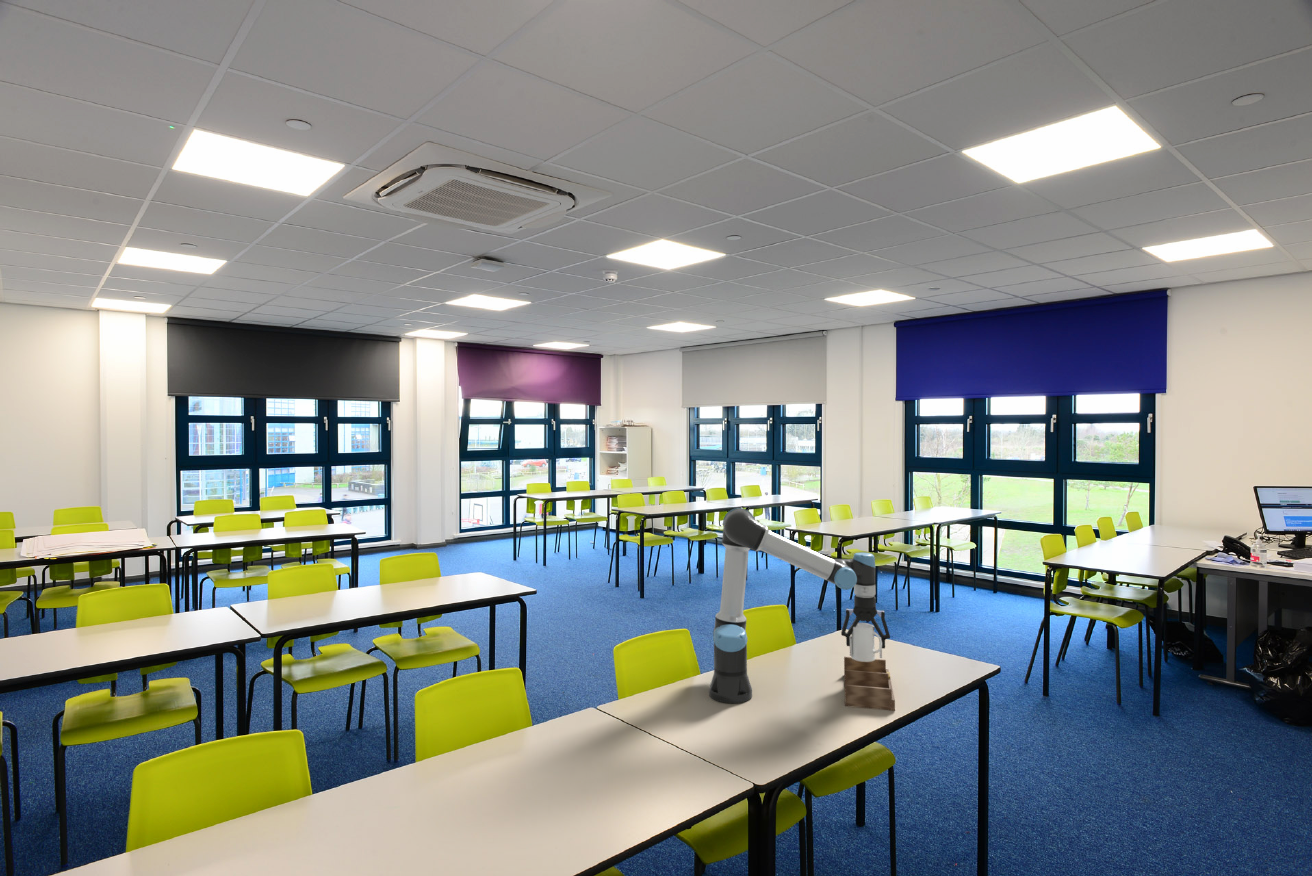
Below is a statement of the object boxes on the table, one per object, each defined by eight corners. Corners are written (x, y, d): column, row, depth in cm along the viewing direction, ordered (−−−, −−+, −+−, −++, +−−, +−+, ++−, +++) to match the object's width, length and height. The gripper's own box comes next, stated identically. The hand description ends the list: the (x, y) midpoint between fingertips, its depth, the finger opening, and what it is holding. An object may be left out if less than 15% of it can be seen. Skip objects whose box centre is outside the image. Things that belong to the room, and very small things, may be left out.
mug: (887, 660, 243) (887, 628, 243) (874, 666, 238) (873, 632, 237) (860, 652, 252) (859, 621, 252) (846, 657, 247) (845, 625, 247)
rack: (845, 705, 226) (844, 685, 226) (844, 674, 255) (844, 656, 254) (895, 710, 221) (894, 689, 221) (888, 678, 250) (888, 659, 250)
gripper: (833, 596, 244) (834, 656, 244) (898, 599, 238) (898, 661, 238) (833, 591, 252) (834, 650, 252) (896, 594, 246) (897, 654, 246)
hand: (865, 655), depth 245 cm, fingers closed on mug, 10 cm apart
